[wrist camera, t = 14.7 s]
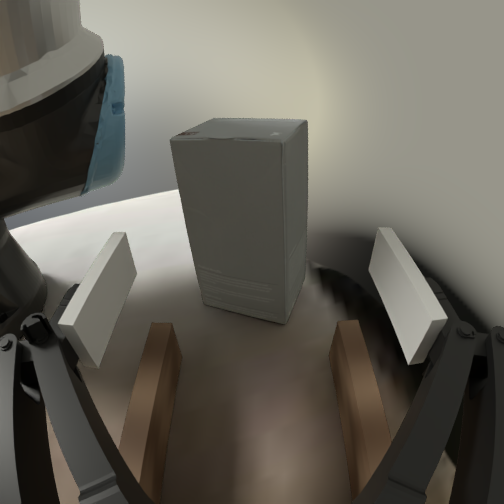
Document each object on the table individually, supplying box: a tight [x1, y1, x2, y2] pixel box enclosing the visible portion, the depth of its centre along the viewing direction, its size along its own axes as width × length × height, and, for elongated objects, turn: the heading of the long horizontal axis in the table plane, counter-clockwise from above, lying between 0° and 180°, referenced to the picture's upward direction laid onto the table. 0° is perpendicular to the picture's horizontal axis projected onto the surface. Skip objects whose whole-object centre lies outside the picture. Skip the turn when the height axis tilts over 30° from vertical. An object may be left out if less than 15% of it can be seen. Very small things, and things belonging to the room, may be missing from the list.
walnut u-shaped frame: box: [119, 320, 392, 504], centre depth 14 cm, size 18×14×4 cm
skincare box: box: [170, 118, 308, 324], centre depth 24 cm, size 8×7×16 cm
